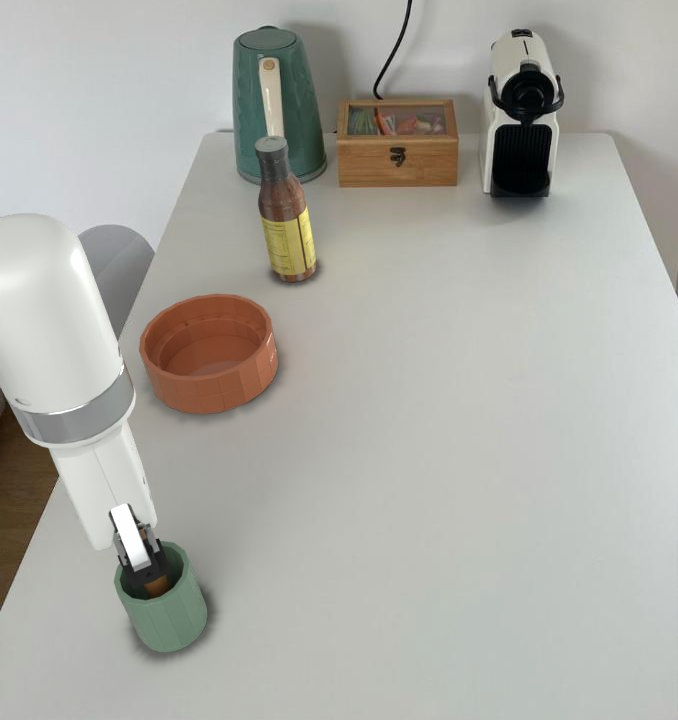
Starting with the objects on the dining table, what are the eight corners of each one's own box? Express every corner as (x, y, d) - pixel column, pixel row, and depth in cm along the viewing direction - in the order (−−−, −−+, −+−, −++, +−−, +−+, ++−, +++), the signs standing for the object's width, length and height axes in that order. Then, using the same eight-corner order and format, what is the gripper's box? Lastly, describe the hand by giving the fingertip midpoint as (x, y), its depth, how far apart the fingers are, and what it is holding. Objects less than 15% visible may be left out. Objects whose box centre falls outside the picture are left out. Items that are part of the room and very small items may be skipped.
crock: (148, 665, 71) (124, 617, 65) (131, 608, 75) (106, 559, 70) (216, 633, 73) (198, 584, 67) (195, 579, 77) (176, 529, 72)
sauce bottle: (300, 252, 116) (281, 123, 102) (326, 272, 112) (310, 140, 99) (262, 271, 113) (237, 140, 100) (286, 291, 109) (264, 159, 96)
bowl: (172, 435, 91) (159, 397, 87) (137, 356, 101) (125, 319, 97) (297, 387, 96) (291, 349, 92) (253, 316, 106) (245, 279, 102)
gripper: (-4, 338, 58) (74, 494, 71) (37, 505, 47) (121, 657, 59) (100, 305, 61) (158, 461, 73) (163, 456, 50) (219, 611, 62)
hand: (141, 547), depth 66 cm, fingers open, 5 cm apart
